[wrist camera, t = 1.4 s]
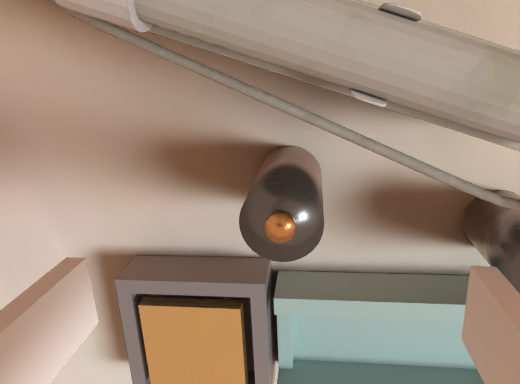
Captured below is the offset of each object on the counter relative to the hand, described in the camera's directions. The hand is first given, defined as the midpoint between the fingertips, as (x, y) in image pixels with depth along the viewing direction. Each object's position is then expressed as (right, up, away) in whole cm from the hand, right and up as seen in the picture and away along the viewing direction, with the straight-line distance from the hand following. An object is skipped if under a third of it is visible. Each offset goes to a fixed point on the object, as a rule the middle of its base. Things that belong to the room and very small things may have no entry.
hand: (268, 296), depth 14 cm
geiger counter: (+1, +12, +10) cm, 16 cm away
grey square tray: (-4, -6, +17) cm, 19 cm away
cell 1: (+2, +5, +13) cm, 14 cm away
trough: (+9, -6, +15) cm, 19 cm away
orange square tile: (-5, -7, +14) cm, 16 cm away
